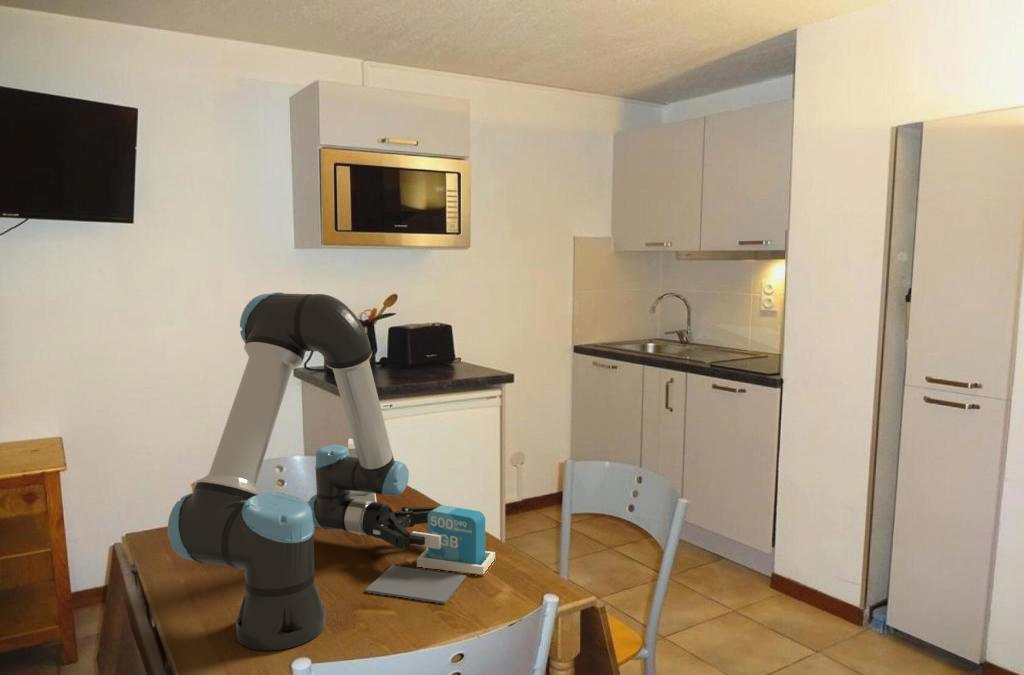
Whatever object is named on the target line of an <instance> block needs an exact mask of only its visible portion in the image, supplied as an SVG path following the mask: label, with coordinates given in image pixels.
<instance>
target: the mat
mask: <svg viewBox="0 0 1024 675" xmlns="http://www.w3.org/2000/svg"><path fill="white" fill-rule="evenodd" d="M466 577H467V574H460V573H452V572H445V571H437V570H430V569H423V568H414V567H413V568H412V567H406V566H399V565H398V566H397V565H391V566H390V567H389V568H387V569H386V570H385V571H384V572H383V573H382V574H381V575H380V576H378V578H376V580H374V581H373V582H371V584H370V585H368V586H367V588H365V589H364V593H365V592H368V593H367V594H371V593H373V595H377V594H380V595H379V596H384V595H388V596H387V597H391V596H397V597H396V598H398V597H403V598H402V599H404V598H409V599H408V600H411V599H415V600H414V601H418V600H422V601H421V602H425V601H430V602H429V603H431V602H436V603H435V604H438V603H443V604H442V605H447V603H448V602H449V601H450V599H451V598H452V597H453V595H454V594H455V593H456V592H457V591H456V589H457V588H458V587H459V585H460V584H461V583H462V582H463V580H464V579H465V578H466ZM466 579H467V578H466ZM463 583H464V582H463ZM463 583H462V584H463ZM462 584H461V585H462ZM459 588H460V587H459ZM459 588H458V589H459ZM458 589H457V590H458ZM455 591H456V592H455ZM454 592H455V593H454ZM453 593H454V594H453ZM451 596H452V597H451ZM450 597H451V598H450ZM449 598H450V599H449ZM447 601H448V602H447ZM446 602H447V603H446Z"/></svg>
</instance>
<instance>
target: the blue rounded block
mask: <svg viewBox="0 0 1024 675" xmlns="http://www.w3.org/2000/svg"><path fill="white" fill-rule="evenodd" d="M436 507H437V508H436V509H434V510H432V511H431V512H429V514H428V523H427V533H428V534H435V535H441V548H440V549H435V548H429V547H427V548H428V558H430V559H438V560H446V561H453V562H461V563H469V564H476V565H482V563H483V562H484V561H485V551H486V516H485V514H484V512H482V511H481V510H480V511H478V510H475V509H474V510H473V509H468V508H464V507H463V508H462V507H456V506H450V505H446V504H442V505H439V506H436Z"/></svg>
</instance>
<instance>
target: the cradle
mask: <svg viewBox="0 0 1024 675" xmlns="http://www.w3.org/2000/svg"><path fill="white" fill-rule="evenodd" d="M485 559H486V560H485V561H484V562H483V563H482V565H476V564H469V563H461V562H453V561H446V560H438V559H430V558H428V547H426V549H425V550H424V551H423V552H422V553H421V554H420V555H418V556H417V558H416V568H418V567H423V568H422V569H425V568H433V569H435V568H436V569H445V570H452V571H461V572H469V573H477V574H484V573H485V571H486V570H487V569H488V567H489V566H490V565H491V563H492V562H493V561H494V559H495V560H496V552H495V551H489V550H488V551H487V550H485ZM433 569H432V570H433Z"/></svg>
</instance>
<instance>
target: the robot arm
mask: <svg viewBox="0 0 1024 675" xmlns="http://www.w3.org/2000/svg"><path fill="white" fill-rule="evenodd" d="M239 328H241V330H240V332H239V333H240V336H241V339H242V341H243V342H244V343H245V344H244V346H243V350H244V351H245V353H246V355H247V356H248V358H247V362H246V365H245V367H244V370H243V374H242V376H241V379H240V383H239V385H238V388H237V391H236V394H235V397H234V400H233V402H232V405H231V408H230V411H229V414H228V417H227V420H226V423H225V426H224V429H223V432H222V434H221V435H222V436H221V437H220V441H219V444H218V446H217V449H216V452H215V455H214V458H213V460H212V463H211V466H210V469H209V472H208V473H207V475H205V476H204V477H201V478H200V479H198V480H197V481H196V482H195V483H196V484H195V486H194V489H193V492H192V493H188V494H186V495H184V496H182V497H180V500H177V501H176V502H175V504H174V506H173V507H172V509H171V511H170V514H169V516H168V522H167V536H168V541H169V542H170V544H171V548H172V550H173V551H174V553H176V554H177V555H178V557H180V558H182V559H186V560H190V561H193V562H195V563H199V564H203V565H204V564H209V565H215V566H221V567H227V568H233V569H239V570H243V571H244V580H245V581H244V582H245V590H244V595H243V599H242V602H241V605H240V607H239V608H240V609H239V612H238V615H237V618H236V622H235V636H236V640H237V641H238V643H239V644H241V645H242V646H244V647H246V648H247V649H251V650H255V651H256V650H257V651H280V650H287V649H291V648H295V647H298V646H301V645H303V644H305V643H308V642H309V641H311V640H313V639H315V638H316V637H317V636H319V635H320V634H321V633H322V631H323V630H324V629H325V627H326V610H325V606H324V605H323V603H322V599H321V597H320V594H319V591H318V588H317V586H316V583H315V582H316V581H315V550H314V549H315V548H314V547H315V543H314V541H315V540H314V539H315V538H314V532H315V527H317V528H321V529H324V530H330V531H331V530H332V531H339V532H345V533H350V534H351V533H352V534H356V535H357V536H361V535H366V536H369V537H372V538H377V539H381V540H383V541H384V542H386V543H388V544H390V545H391V546H392V545H393V547H396V548H397V549H405V550H410V549H411V546H417V547H423V548H428V547H429V548H435V549H440V548H441V535H435V534H428V532H420V531H414V530H413V531H412V532H410V531H408V529H406V528H412V527H415V525H421V524H428V514H429V512H431V511H432V510H434V509H436V508H437V507H438V506H427V507H426V506H424V507H418V506H416V507H411V506H410V507H409V506H402V507H401V510H396V511H393V510H392V509H391V506H390V505H389V504H388V503H385V502H384V503H383V502H371V501H365V500H357V499H351V498H350V490H351V491H360V492H368V493H375V494H376V495H382V496H400V495H401V494H403V493H404V491H405V490H406V488H407V486H408V483H409V478H410V472H409V468H408V465H406V463H405V462H403V461H402V462H401V461H399V460H395V459H394V454H393V450H392V447H391V444H390V438H389V436H388V431H387V427H386V426H387V425H386V422H385V419H384V415H383V411H382V407H381V403H380V399H379V396H378V391H377V387H376V382H375V379H374V374H373V370H372V367H371V363H370V359H371V357H372V356H373V350H372V347H371V342H370V339H369V336H368V335H367V332H366V330H365V328H364V326H363V325H362V323H361V321H360V320H359V318H358V316H356V314H355V313H354V311H352V310H351V308H349V306H347V304H345V302H342V301H341V300H339V299H338V298H336V297H334V296H331V295H329V294H325V293H284V292H280V291H279V292H272V293H263V294H259V295H257V296H255V297H253V298H252V299H251V300H249V302H248V303H247V304H246V305H245V307H244V309H243V311H242V314H241V315H240V319H239ZM307 352H318V353H319V354H321V355H322V356H323V357H322V358H323V359H324V362H325V366H326V367H327V368H328V369H331V370H332V372H333V374H334V379H335V383H336V385H337V389H338V393H339V396H340V400H341V403H342V404H341V405H342V406H343V410H344V413H345V416H346V421H347V425H348V428H349V431H350V435H351V439H353V442H354V446H355V449H356V453H357V456H358V458H356V457H349V456H350V454H349V450H348V446H345V445H342V444H329V445H325V446H322V447H319V448H318V449H317V451H315V452H316V453H315V466H314V470H315V482H316V483H315V484H316V494H315V495H313V496H311V497H310V499H309V500H308V501H306V500H305V499H303V498H302V497H299V496H297V495H293V494H290V493H289V494H288V493H284V492H283V493H281V492H278V493H271V492H270V493H268V492H267V493H262V494H261V493H260V492H259V490H258V488H257V486H256V484H257V482H258V478H259V476H260V472H261V468H262V465H263V462H264V459H265V456H266V453H267V450H268V446H269V444H270V441H271V437H272V435H273V434H272V433H273V430H274V428H275V424H276V421H277V418H278V414H279V412H280V409H281V405H282V402H283V398H284V396H285V393H286V389H287V386H288V383H289V380H290V378H291V374H292V371H293V370H294V369H296V368H298V367H300V366H301V365H302V364H303V361H304V358H305V356H306V353H307Z"/></svg>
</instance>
